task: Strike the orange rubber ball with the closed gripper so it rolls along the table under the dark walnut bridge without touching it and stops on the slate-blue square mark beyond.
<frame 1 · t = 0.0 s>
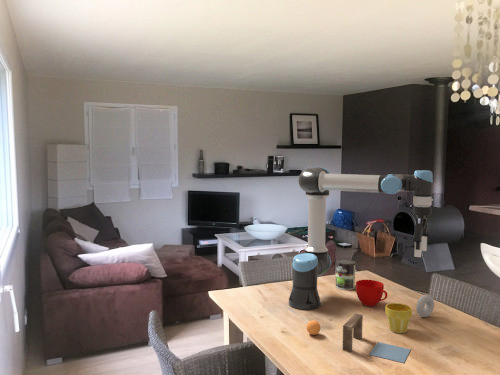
hand: (420, 253, 193), 28 cm above the table, tool pointing down, fingers open, 13 cm apart
donut: (424, 317, 194), on the table
ceramic cup: (372, 305, 208), on the table
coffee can: (345, 287, 236), on the table
plant pot: (397, 330, 179), on the table
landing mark: (390, 352, 159), on the table
ball: (313, 327, 174), on the table
bridge: (352, 343, 166), on the table
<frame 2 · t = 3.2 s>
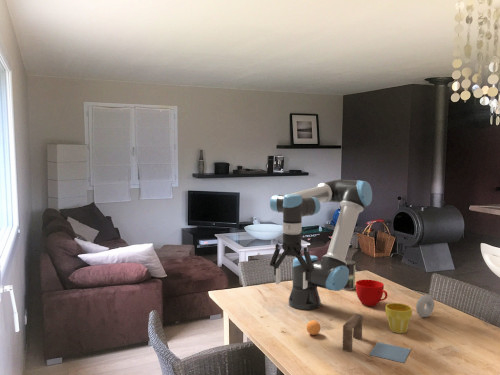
hand: (291, 285, 178), 18 cm above the table, tool pointing down, fingers open, 11 cm apart
nothing on the table moved.
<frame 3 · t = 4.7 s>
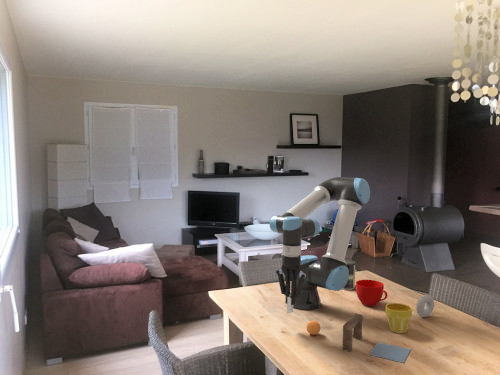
hand: (290, 311, 179), 7 cm above the table, tool pointing down, fingers closed
nothing on the table moved.
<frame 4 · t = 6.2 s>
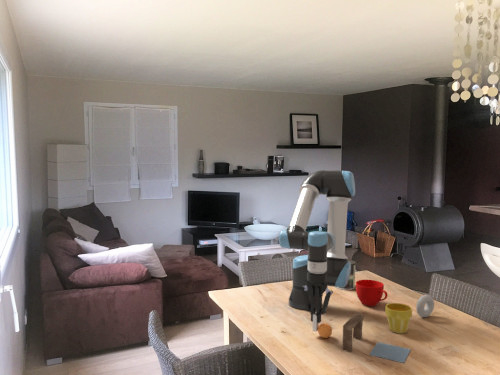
hand: (315, 329, 173), 2 cm above the table, tool pointing down, fingers closed
ball: (324, 330, 172), on the table
everything else where it was.
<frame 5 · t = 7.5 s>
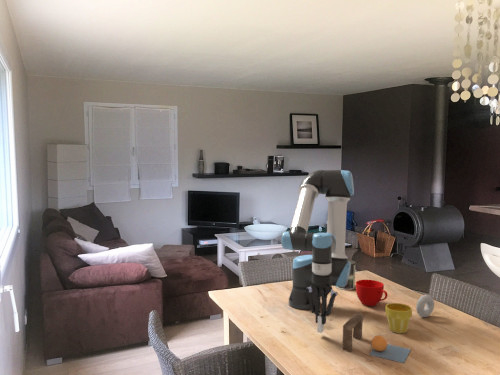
hand: (320, 331, 173), 2 cm above the table, tool pointing down, fingers closed
ball: (379, 343, 160), on the table
everything else where it was.
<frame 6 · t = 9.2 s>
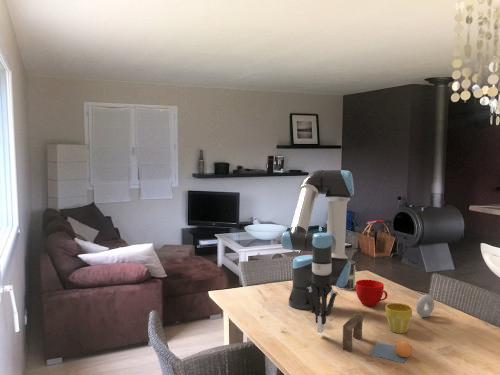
hand: (320, 331, 173), 2 cm above the table, tool pointing down, fingers closed
ball: (403, 349, 156), on the table
everything else where it was.
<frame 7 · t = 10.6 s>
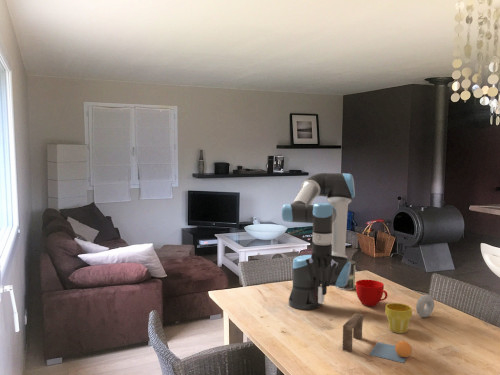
hand: (321, 302, 172), 14 cm above the table, tool pointing down, fingers closed
nothing on the table moved.
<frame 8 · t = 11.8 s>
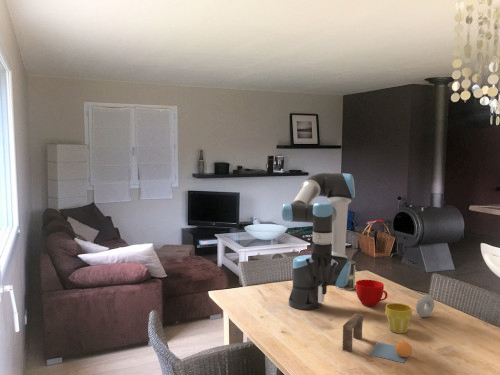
hand: (321, 301, 172), 14 cm above the table, tool pointing down, fingers closed
nothing on the table moved.
at the end: ball 4.9 cm from the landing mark (horizontally); ball never touched bridge; ball at rest at the end (0.0 cm/s) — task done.
